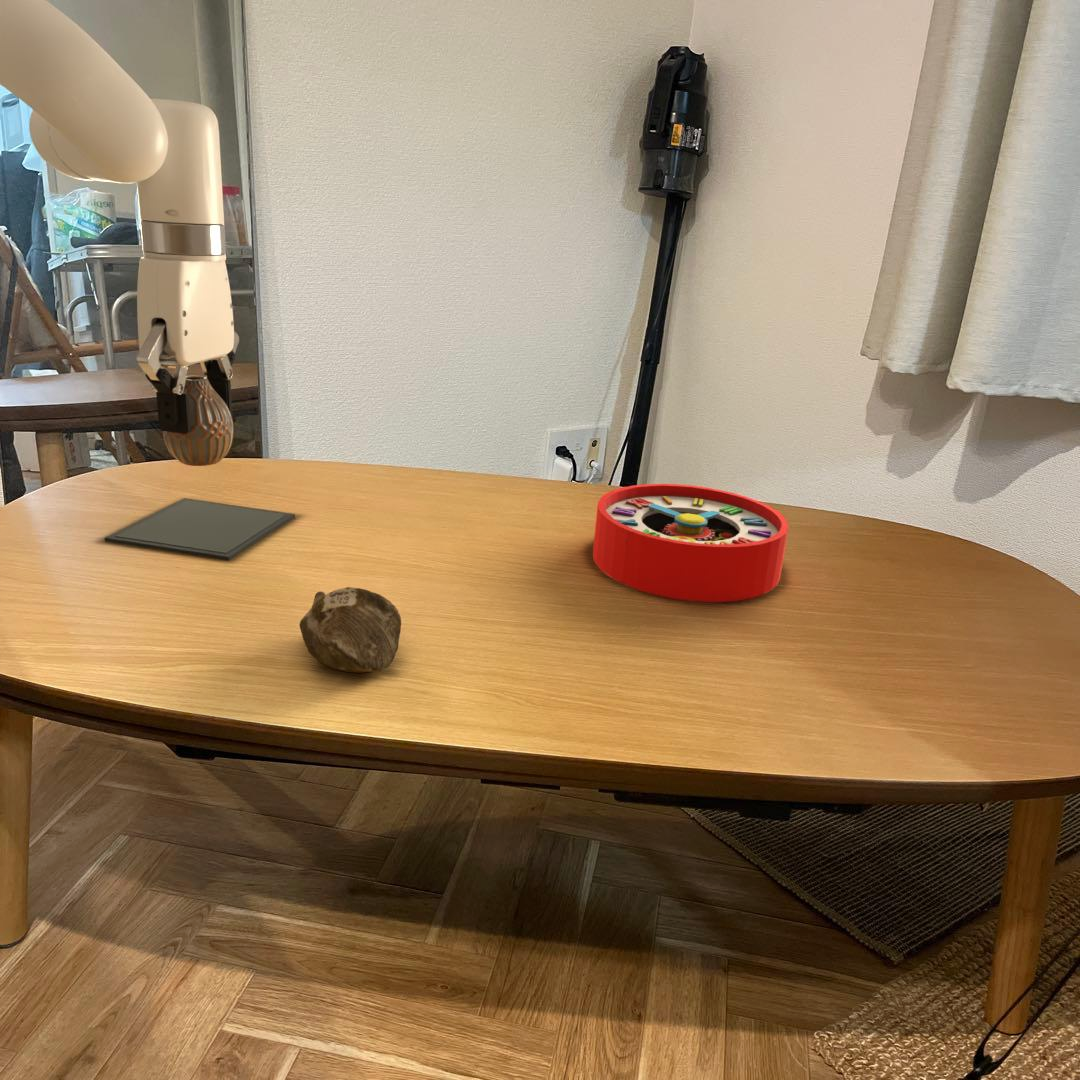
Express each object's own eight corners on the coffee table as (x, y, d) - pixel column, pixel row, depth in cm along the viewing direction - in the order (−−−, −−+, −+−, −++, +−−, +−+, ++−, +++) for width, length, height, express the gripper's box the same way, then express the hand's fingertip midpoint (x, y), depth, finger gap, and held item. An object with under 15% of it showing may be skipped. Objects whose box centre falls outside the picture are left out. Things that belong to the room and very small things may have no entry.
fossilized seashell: (303, 598, 77) (275, 673, 68) (341, 544, 74) (317, 614, 65) (379, 639, 79) (362, 716, 70) (419, 587, 76) (406, 661, 68)
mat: (104, 542, 92) (104, 537, 92) (184, 502, 105) (184, 497, 104) (229, 561, 89) (228, 556, 89) (295, 518, 102) (295, 513, 102)
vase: (249, 460, 95) (245, 378, 92) (196, 474, 90) (189, 387, 87) (204, 448, 99) (199, 368, 95) (150, 461, 93) (142, 376, 90)
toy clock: (709, 562, 81) (558, 502, 95) (701, 620, 83) (554, 553, 97) (826, 522, 94) (678, 474, 108) (816, 573, 96) (672, 520, 110)
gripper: (200, 237, 95) (211, 403, 101) (88, 242, 79) (109, 438, 85) (265, 242, 94) (272, 410, 100) (164, 248, 78) (180, 447, 84)
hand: (197, 422), depth 93 cm, fingers closed on vase, 6 cm apart
